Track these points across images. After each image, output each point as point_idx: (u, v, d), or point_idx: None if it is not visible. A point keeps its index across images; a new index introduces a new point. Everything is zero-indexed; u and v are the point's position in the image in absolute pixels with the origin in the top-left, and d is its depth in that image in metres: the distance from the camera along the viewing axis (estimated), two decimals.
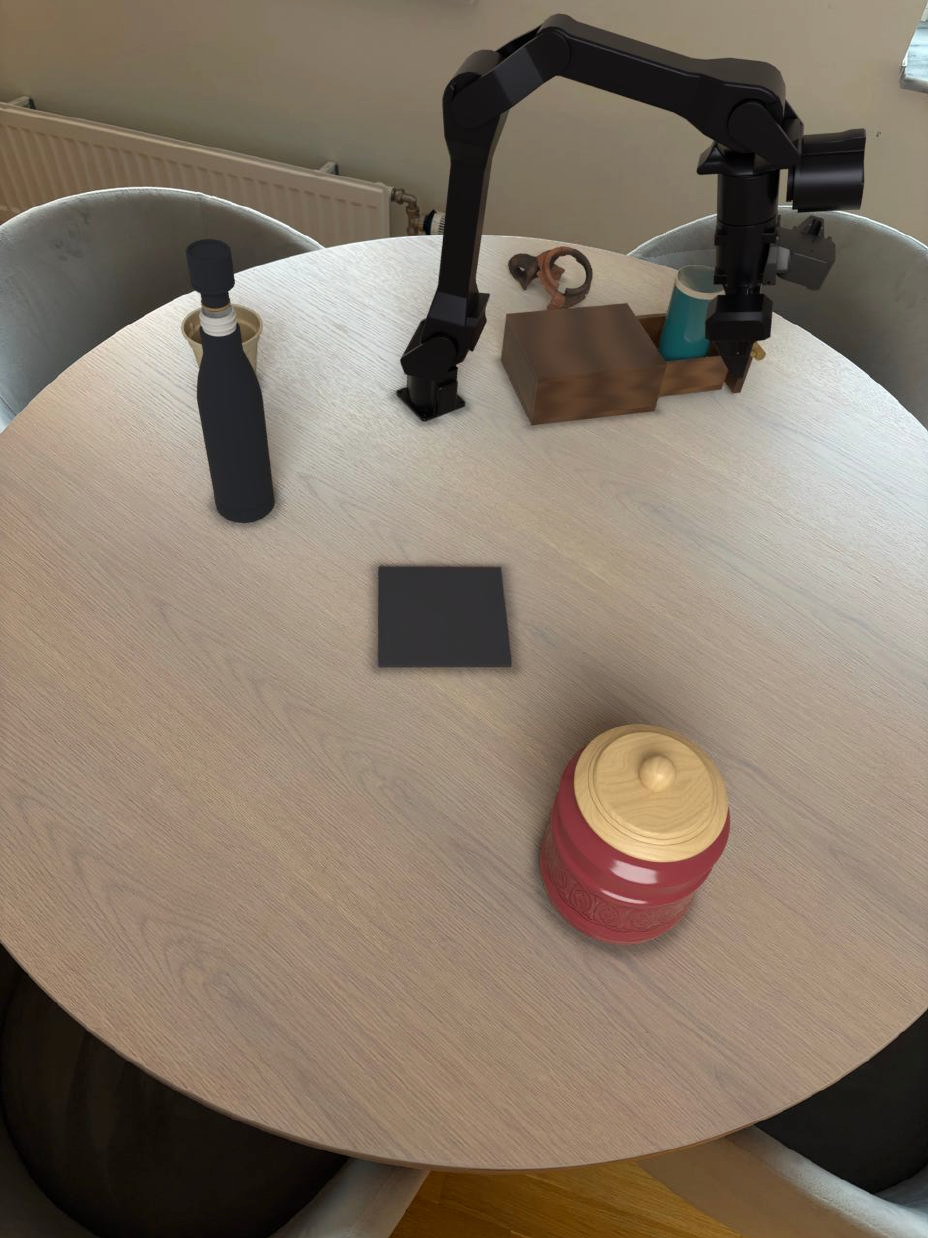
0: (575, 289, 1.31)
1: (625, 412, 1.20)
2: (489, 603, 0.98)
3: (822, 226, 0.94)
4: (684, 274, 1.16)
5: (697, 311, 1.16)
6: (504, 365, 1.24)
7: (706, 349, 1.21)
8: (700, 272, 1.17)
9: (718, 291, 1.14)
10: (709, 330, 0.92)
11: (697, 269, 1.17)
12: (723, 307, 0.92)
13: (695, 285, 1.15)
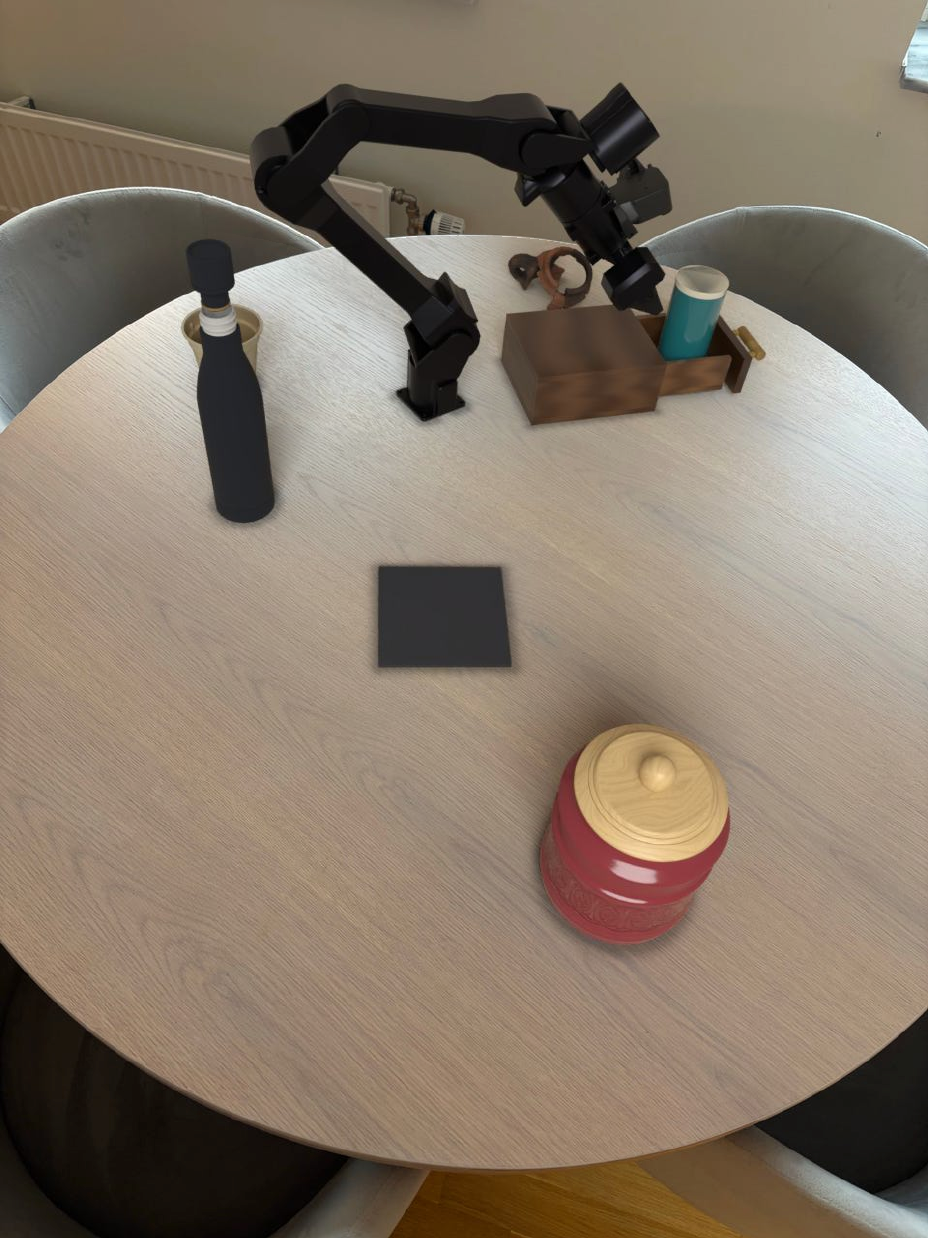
0: (575, 289, 1.31)
1: (625, 412, 1.20)
2: (489, 603, 0.98)
3: (638, 162, 1.04)
4: (684, 274, 1.16)
5: (697, 311, 1.16)
6: (504, 365, 1.24)
7: (706, 349, 1.21)
8: (700, 272, 1.17)
9: (718, 291, 1.14)
10: (618, 304, 1.03)
11: (697, 269, 1.17)
12: (615, 280, 1.02)
13: (695, 285, 1.15)
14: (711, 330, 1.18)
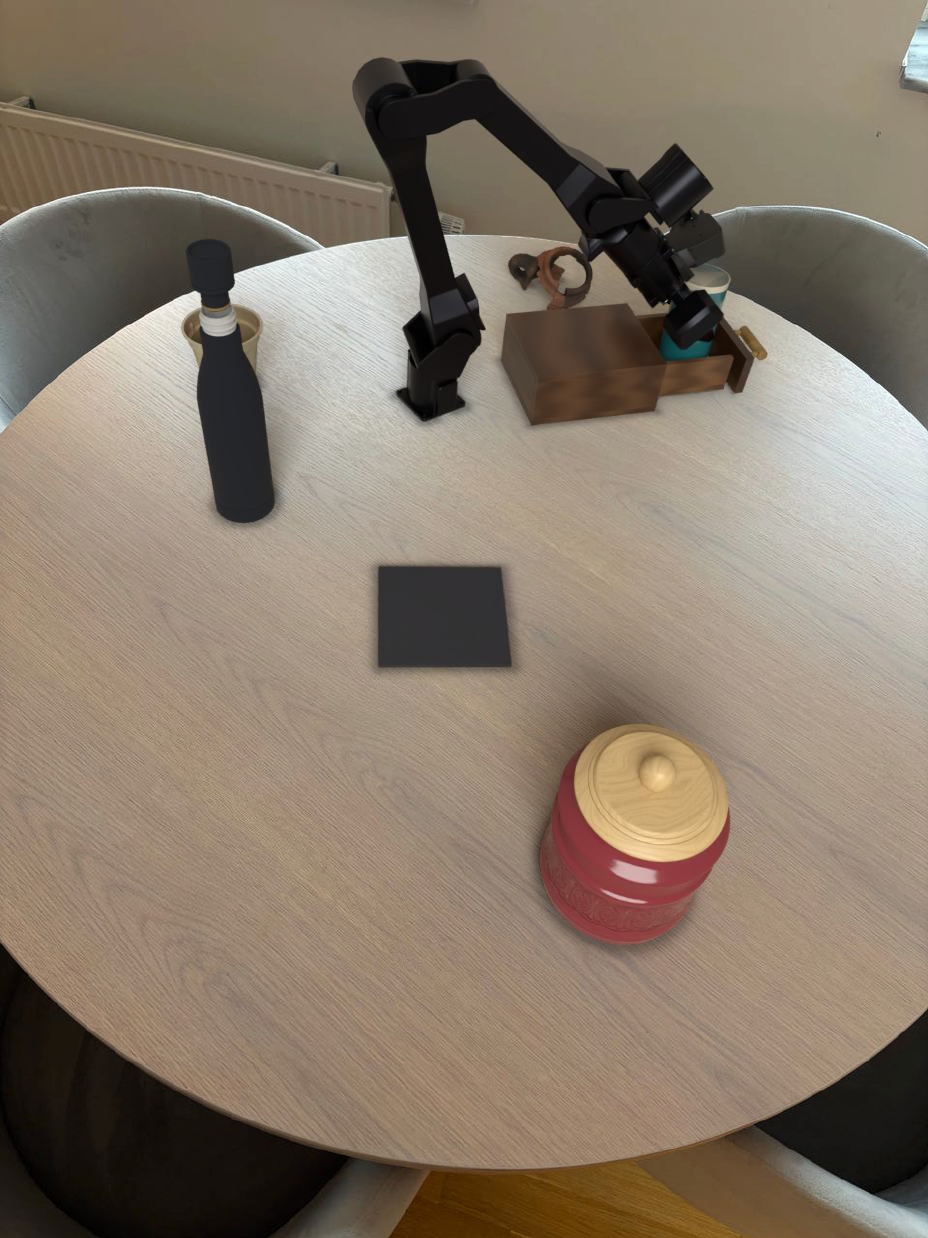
0: (575, 289, 1.31)
1: (625, 412, 1.20)
2: (489, 603, 0.98)
3: (691, 210, 1.11)
4: None
5: None
6: (504, 365, 1.24)
7: (708, 347, 1.21)
8: (702, 269, 1.17)
9: (719, 285, 1.14)
10: (681, 344, 1.11)
11: (699, 266, 1.17)
12: (677, 323, 1.10)
13: (696, 279, 1.15)
14: None
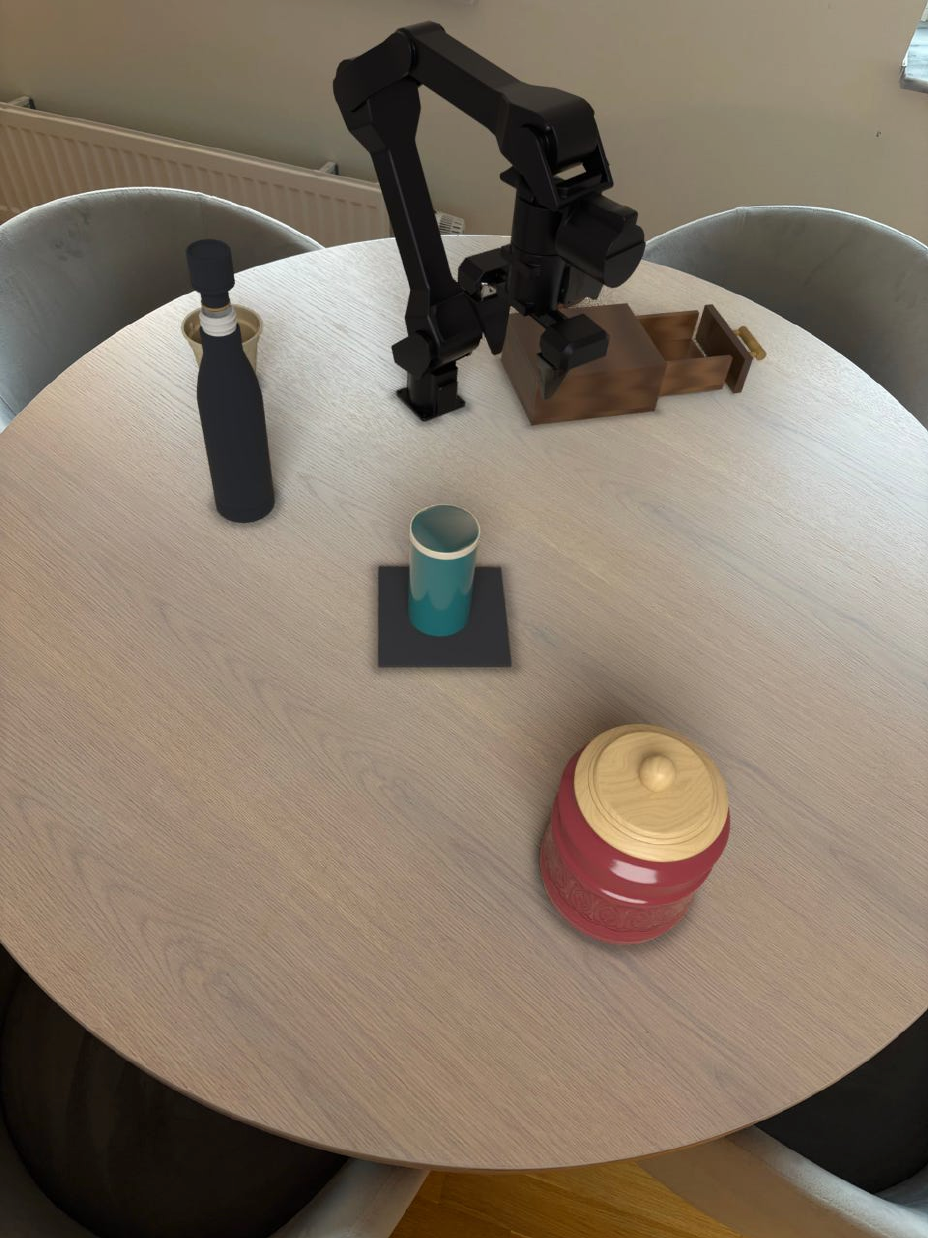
0: None
1: (625, 412, 1.20)
2: (489, 603, 0.98)
3: None
4: (458, 514, 0.89)
5: None
6: (504, 365, 1.24)
7: (413, 602, 0.92)
8: (459, 531, 0.87)
9: (413, 533, 0.87)
10: (567, 361, 0.92)
11: (469, 531, 0.87)
12: (570, 335, 0.92)
13: (432, 516, 0.88)
14: (412, 579, 0.90)
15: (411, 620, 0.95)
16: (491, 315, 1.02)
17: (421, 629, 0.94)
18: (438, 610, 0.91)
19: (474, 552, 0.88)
